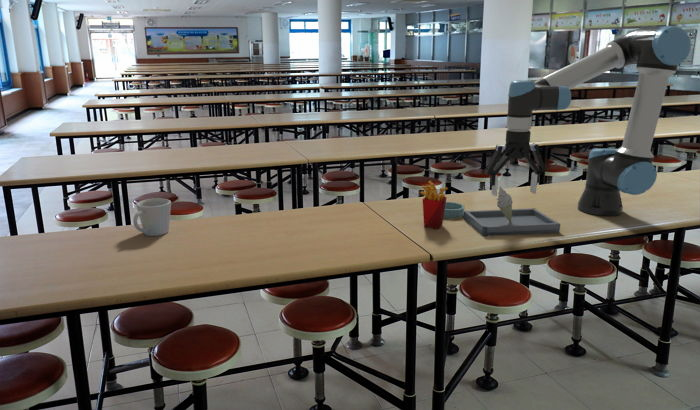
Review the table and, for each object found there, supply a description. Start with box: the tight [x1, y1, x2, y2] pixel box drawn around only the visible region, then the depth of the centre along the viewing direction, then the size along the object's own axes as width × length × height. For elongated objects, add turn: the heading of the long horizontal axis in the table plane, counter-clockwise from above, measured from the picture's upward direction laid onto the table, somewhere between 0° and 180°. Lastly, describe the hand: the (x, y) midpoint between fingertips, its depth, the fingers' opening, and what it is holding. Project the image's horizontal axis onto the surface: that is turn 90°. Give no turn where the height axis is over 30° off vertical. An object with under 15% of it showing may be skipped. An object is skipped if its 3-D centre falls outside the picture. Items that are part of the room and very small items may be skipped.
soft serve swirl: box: [496, 186, 513, 223], centre depth 182 cm, size 5×5×15 cm
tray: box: [463, 207, 561, 237], centre depth 186 cm, size 26×18×3 cm
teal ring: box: [443, 201, 466, 219], centre depth 198 cm, size 11×11×3 cm
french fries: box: [419, 180, 449, 230], centre depth 183 cm, size 9×8×15 cm
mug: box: [132, 197, 172, 237], centre depth 174 cm, size 10×15×10 cm
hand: (513, 193), depth 183 cm, fingers open, 13 cm apart
